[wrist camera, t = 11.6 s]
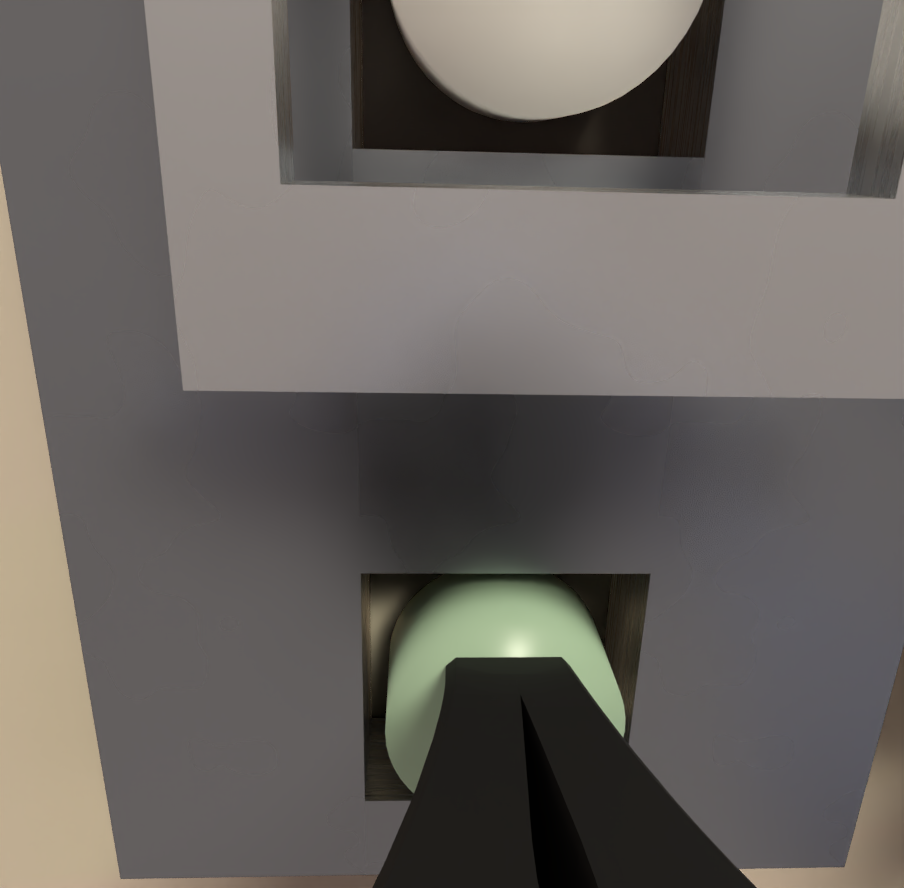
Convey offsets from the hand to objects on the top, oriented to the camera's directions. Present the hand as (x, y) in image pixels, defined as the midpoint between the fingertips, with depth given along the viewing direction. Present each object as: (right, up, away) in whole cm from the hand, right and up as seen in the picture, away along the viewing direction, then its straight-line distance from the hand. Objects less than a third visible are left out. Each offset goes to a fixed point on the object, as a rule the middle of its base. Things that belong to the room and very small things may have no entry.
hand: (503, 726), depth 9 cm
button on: (0, +1, +1) cm, 1 cm away
